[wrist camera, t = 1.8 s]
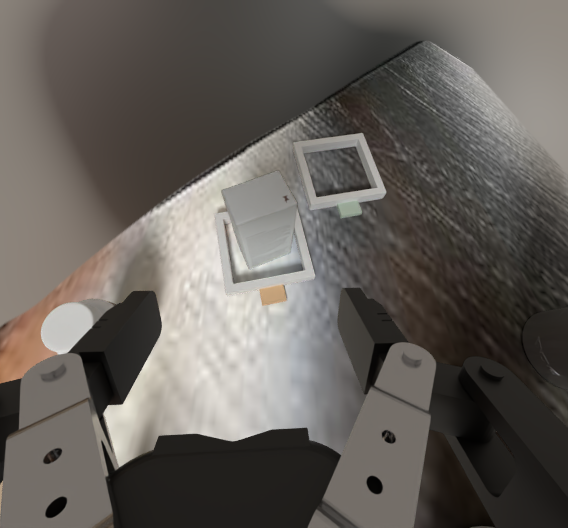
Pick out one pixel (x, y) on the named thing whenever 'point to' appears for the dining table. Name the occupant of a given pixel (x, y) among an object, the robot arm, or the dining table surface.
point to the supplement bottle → (71, 323)
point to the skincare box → (262, 217)
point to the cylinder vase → (482, 527)
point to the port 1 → (268, 286)
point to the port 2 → (343, 201)
